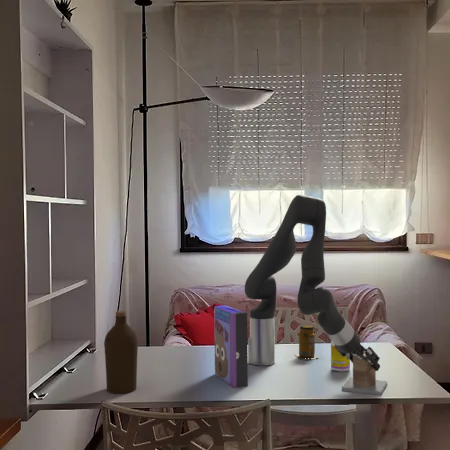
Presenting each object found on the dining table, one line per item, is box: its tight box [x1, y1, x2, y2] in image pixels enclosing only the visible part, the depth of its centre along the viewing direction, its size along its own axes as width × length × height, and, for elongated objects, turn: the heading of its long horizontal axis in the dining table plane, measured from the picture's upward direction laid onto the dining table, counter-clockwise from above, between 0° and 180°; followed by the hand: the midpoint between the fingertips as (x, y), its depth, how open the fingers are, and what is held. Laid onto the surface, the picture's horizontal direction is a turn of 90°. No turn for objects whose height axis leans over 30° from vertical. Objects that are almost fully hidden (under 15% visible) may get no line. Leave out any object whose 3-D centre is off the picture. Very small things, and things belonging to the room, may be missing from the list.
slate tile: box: [341, 376, 388, 396], centre depth 183 cm, size 12×12×1 cm
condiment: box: [295, 324, 319, 361], centre depth 222 cm, size 7×8×12 cm
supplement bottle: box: [330, 341, 351, 373], centre depth 204 cm, size 7×7×13 cm
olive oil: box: [103, 310, 139, 394], centre depth 183 cm, size 11×11×25 cm
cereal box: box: [213, 304, 249, 389], centre depth 192 cm, size 17×5×24 cm, turn 22°
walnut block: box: [352, 353, 377, 387], centre depth 182 cm, size 5×5×10 cm
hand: (367, 365), depth 183 cm, fingers open, 8 cm apart
